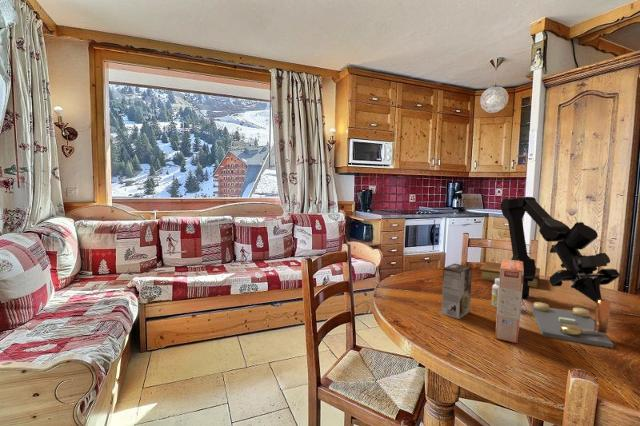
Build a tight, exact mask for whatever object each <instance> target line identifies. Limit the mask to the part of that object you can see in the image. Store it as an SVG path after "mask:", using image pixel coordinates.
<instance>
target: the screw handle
mask: <svg viewBox="0 0 640 426" xmlns="http://www.w3.org/2000/svg"><path fill="white" fill-rule="evenodd" d="M611 303H612V302H611V300H609V299H607V298H602V299H597V303H596V302H595V306H596V307H595V316H594V317H595V318H594V322H595V326H594V329H581V328H580V327H577V326H575V325H571V324H561V325H560V331H561V332H563V333H565V334H568V335H572V336H581V335H582V334H598V335H603V333H605V334H608V333H609V325H610V324H609V323H610V314H611V313H610V312H611Z"/></svg>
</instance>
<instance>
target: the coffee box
mask: <svg viewBox="0 0 640 426" xmlns="http://www.w3.org/2000/svg"><path fill="white" fill-rule="evenodd" d="M472 268H473V267H472V266H467V265H464V264H459V263H452V264H450V265H447V266H445V267H443V273H442V298H441V315H445V316H448V317H451V318H453V319H458V320H460V319H462V318H463V317H464V316H466V315H467V314H468V313H470V312H471V295H472V294H471V293H472V273H473V272H472V270H473V269H472Z"/></svg>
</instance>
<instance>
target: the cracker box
mask: <svg viewBox="0 0 640 426" xmlns="http://www.w3.org/2000/svg"><path fill="white" fill-rule="evenodd" d="M523 275H524V269H523V262H522V261H516V260H511V259H508V258H507V259H502V261H501V268H500V278H499V291H498V305H497V307H496V321H495V338H494V339H496V340H501V341H505V342H509V343H513V344H518V343H519V342H518V340H519V333H520V332H519V331H520V323H521V310H522V301H523V300H522V299H523V298H522V289H523Z"/></svg>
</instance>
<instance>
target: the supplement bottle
mask: <svg viewBox="0 0 640 426" xmlns="http://www.w3.org/2000/svg"><path fill="white" fill-rule="evenodd" d="M498 291H499V278H496V279H495V282H494V284H492V289H491V305H492V306H494V307H495V308H497V305H498Z"/></svg>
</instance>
